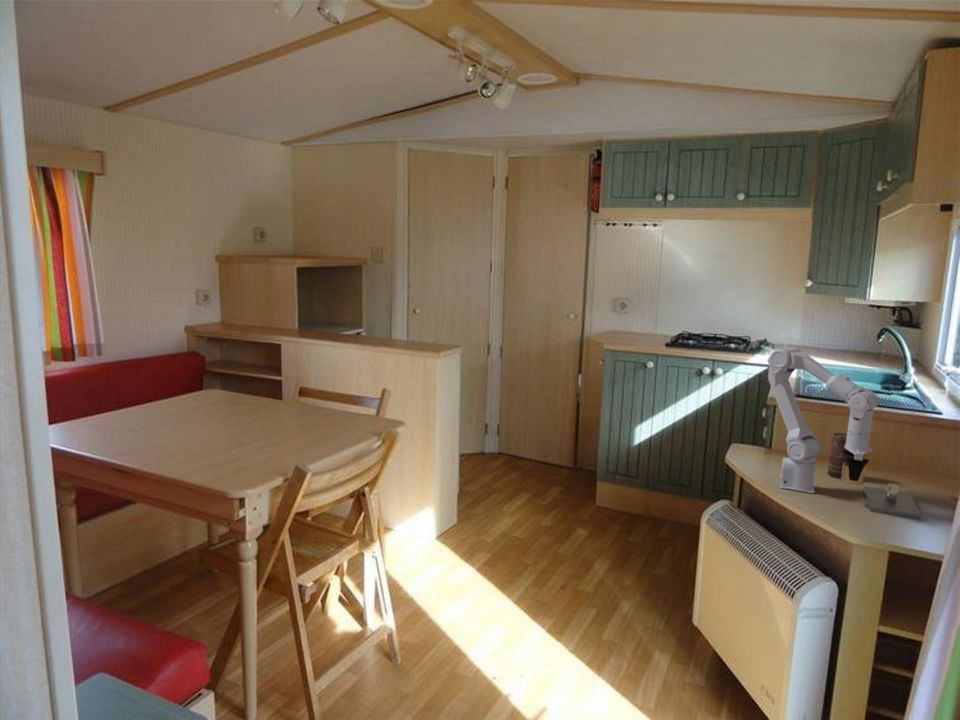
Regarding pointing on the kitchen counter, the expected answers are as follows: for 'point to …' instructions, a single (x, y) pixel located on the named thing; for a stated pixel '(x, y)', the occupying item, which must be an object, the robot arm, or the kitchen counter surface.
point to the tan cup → (846, 476)
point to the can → (837, 455)
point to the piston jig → (891, 502)
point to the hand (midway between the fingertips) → (852, 477)
